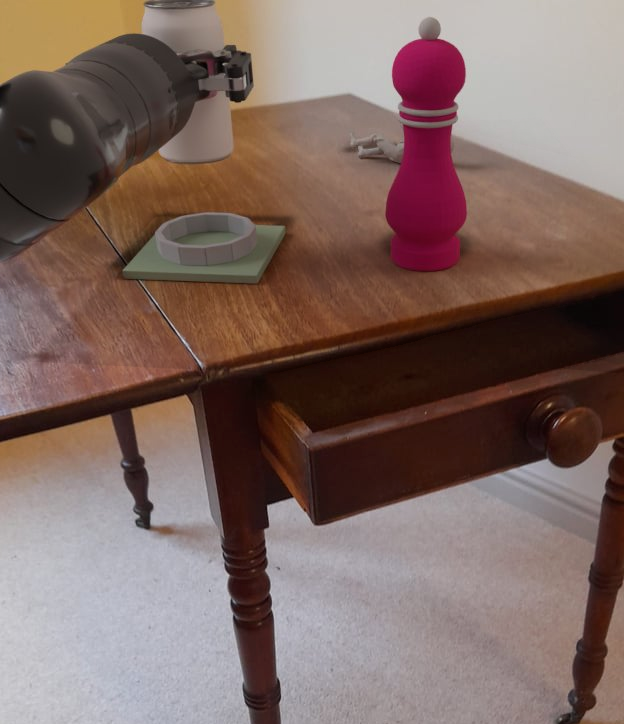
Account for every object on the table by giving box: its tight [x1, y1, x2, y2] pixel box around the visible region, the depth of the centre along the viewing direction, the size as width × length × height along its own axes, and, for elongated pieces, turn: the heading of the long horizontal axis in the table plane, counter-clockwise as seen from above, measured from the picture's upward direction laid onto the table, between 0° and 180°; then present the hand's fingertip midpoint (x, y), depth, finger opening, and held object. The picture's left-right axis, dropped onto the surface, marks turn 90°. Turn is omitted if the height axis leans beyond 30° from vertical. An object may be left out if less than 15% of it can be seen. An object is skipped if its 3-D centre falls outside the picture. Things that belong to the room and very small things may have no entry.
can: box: [140, 0, 235, 165], centre depth 73 cm, size 6×6×12 cm
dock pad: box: [122, 211, 286, 285], centre depth 80 cm, size 12×12×2 cm
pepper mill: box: [384, 16, 468, 272], centre depth 74 cm, size 7×7×20 cm
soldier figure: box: [349, 112, 455, 164], centre depth 103 cm, size 8×5×12 cm
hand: (193, 57), depth 74 cm, fingers closed on can, 6 cm apart
